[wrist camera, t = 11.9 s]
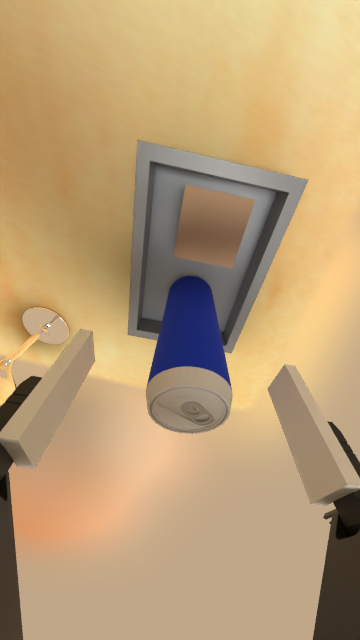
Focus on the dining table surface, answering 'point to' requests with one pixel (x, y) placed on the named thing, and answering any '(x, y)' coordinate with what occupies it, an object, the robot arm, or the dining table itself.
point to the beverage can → (189, 363)
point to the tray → (162, 227)
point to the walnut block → (211, 226)
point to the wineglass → (41, 327)
